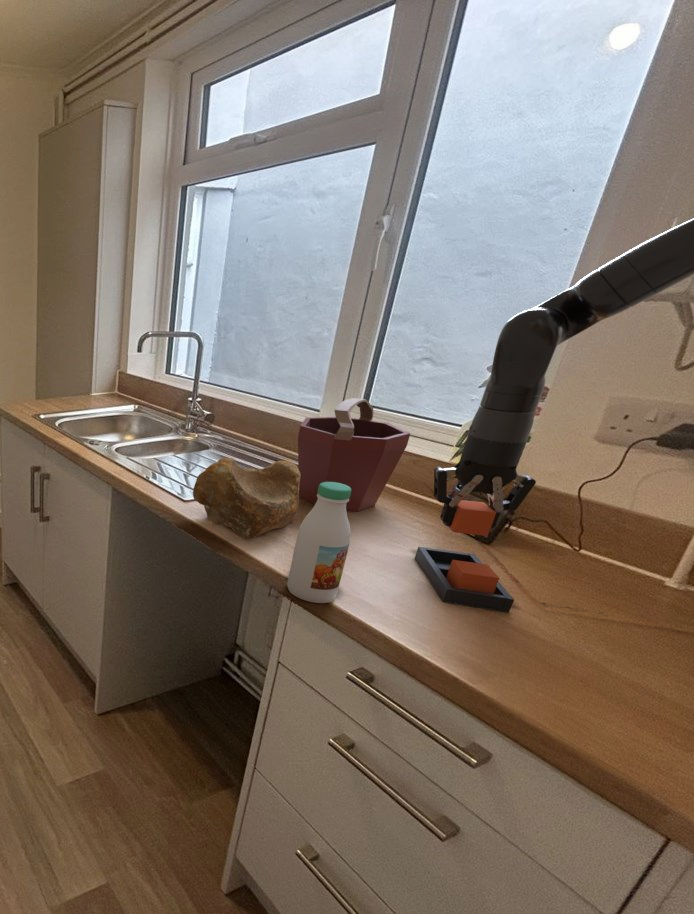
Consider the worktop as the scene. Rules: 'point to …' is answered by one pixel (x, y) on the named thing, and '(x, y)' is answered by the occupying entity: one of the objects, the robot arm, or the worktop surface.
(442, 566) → the frame
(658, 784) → the worktop surface
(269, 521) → the rough brown rock
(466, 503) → the orange block
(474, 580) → the orange square block
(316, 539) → the milk bottle
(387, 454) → the bucket
